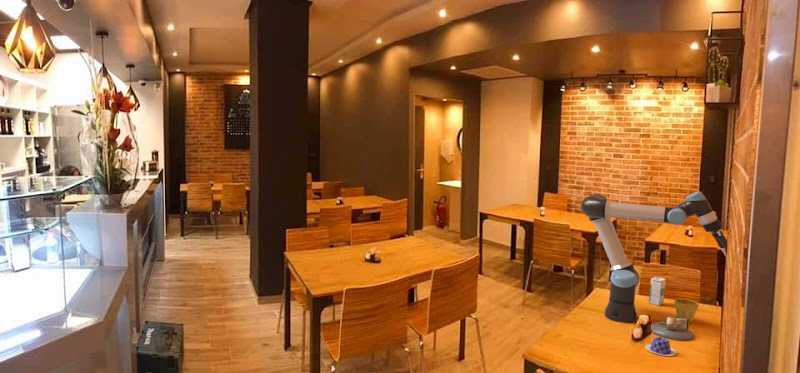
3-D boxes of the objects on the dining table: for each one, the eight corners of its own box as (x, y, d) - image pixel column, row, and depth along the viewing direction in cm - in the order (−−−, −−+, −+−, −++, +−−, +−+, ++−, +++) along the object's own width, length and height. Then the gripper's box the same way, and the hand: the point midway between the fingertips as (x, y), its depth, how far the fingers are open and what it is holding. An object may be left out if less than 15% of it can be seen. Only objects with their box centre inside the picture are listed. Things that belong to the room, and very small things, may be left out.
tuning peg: (669, 330, 228) (670, 319, 227) (664, 326, 232) (665, 316, 231) (689, 330, 228) (690, 320, 228) (684, 327, 232) (685, 317, 231)
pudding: (648, 343, 218) (649, 331, 218) (678, 350, 211) (679, 339, 210) (641, 351, 209) (642, 339, 208) (673, 360, 201) (674, 347, 201)
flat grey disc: (662, 340, 221) (662, 336, 221) (642, 325, 239) (642, 321, 239) (701, 341, 221) (701, 336, 221) (678, 325, 239) (678, 321, 239)
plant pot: (676, 322, 243) (678, 303, 243) (670, 315, 253) (671, 297, 253) (699, 325, 241) (701, 306, 240) (692, 317, 251) (694, 299, 250)
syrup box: (652, 301, 276) (654, 276, 275) (663, 304, 272) (665, 278, 270) (648, 303, 273) (650, 277, 271) (659, 306, 268) (661, 280, 267)
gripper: (723, 219, 224) (749, 261, 220) (713, 217, 247) (736, 255, 243) (706, 227, 227) (731, 268, 222) (698, 223, 249) (721, 261, 245)
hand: (734, 261), depth 233 cm, fingers open, 13 cm apart
